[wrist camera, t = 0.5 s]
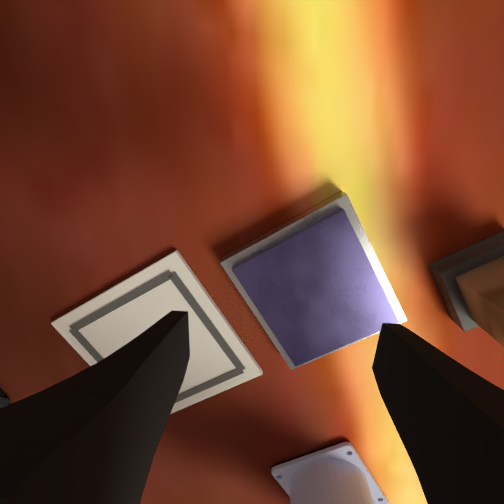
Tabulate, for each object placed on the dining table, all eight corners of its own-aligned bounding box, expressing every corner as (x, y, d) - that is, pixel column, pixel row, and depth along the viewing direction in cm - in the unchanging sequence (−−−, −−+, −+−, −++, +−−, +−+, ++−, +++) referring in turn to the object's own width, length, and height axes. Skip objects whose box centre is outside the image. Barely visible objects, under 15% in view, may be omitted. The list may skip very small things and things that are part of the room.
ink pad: (399, 311, 21) (411, 325, 19) (290, 358, 23) (291, 375, 21) (341, 191, 18) (349, 195, 17) (222, 256, 20) (218, 266, 19)
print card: (262, 370, 24) (262, 375, 23) (146, 420, 26) (144, 426, 26) (177, 249, 20) (175, 252, 20) (54, 320, 23) (49, 324, 22)
